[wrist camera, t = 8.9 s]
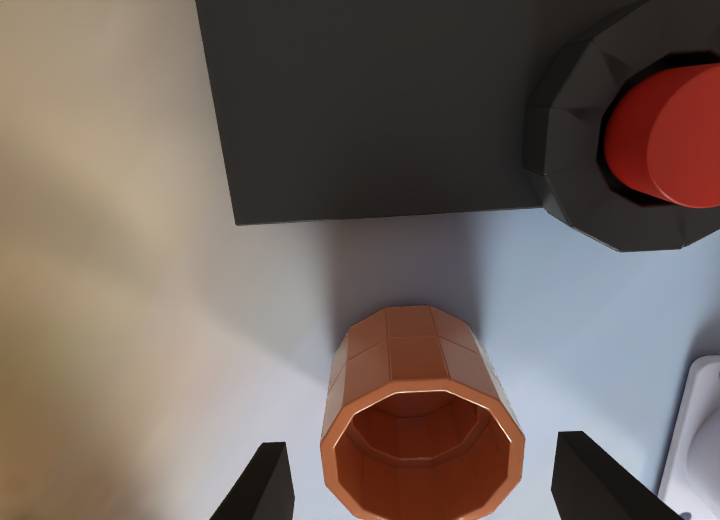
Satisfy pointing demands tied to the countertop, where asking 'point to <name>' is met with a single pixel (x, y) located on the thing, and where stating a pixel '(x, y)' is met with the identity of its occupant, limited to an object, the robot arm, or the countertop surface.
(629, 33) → the scale
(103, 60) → the countertop surface
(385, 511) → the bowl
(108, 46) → the countertop surface
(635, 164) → the button
